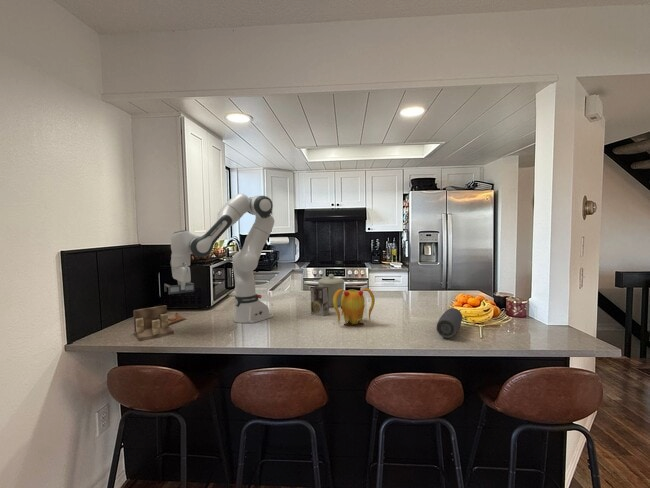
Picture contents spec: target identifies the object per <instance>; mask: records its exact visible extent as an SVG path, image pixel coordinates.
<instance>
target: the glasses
mask: <svg viewBox="0 0 650 488" xmlns="http://www.w3.org/2000/svg"><path fill="white" fill-rule="evenodd" d="M163 284H164V285H163V286H164V287H163V288H164V292H165V293H167V291H168V295H175V294H176V295H177V294H183V293H191V292H195V283H194V282H191V281H190V282H188V283H186V284H185V290H181V289H180V286H181V285H178V284H175V285H170V284H167V283H163Z"/></svg>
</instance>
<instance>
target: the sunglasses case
mask: <svg viewBox="0 0 650 488" xmlns="http://www.w3.org/2000/svg"><path fill="white" fill-rule="evenodd" d="M186 320H187V318H186V317H184V316H182V315H181V314H179V313H178V312H176V313H172V314H168V326H169V327H170V326H172V325H174V324H177V323H180V322H183V321H186Z"/></svg>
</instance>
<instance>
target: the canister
mask: <svg viewBox="0 0 650 488" xmlns="http://www.w3.org/2000/svg"><path fill="white" fill-rule="evenodd" d="M345 281H346V280H345V279H343V278H342V277H336V276H335V275H334V273H329V274H328V277H321V278H320V279H318V280H317V283H318V286H321V287H328V304H329V308H334V305H333V297H334V294H335V292H336V291H337V290H339V289H343V290H344V286H345ZM343 292H344V291H342V292H340V294H339V296H338V300H337V306H338V307H339V306H340V307H341V297H342V294H343Z"/></svg>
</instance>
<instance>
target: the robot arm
mask: <svg viewBox="0 0 650 488" xmlns="http://www.w3.org/2000/svg"><path fill="white" fill-rule="evenodd" d="M273 207H274V205H273V201H272V200H271V198H270V197H268V196H266V195H255V196H250V197H248V195H246V194H244V193H241V192H240V193H237V194H236V195H234V196H233V197H231V198H230V199H229V200H228V201H226V202H225V204H223V206H222V207H221V208H220V209H219V211H218V213H217V218H216V221H215V223H214V224H213V225H212V226H211V227H210V228H209V229H208V230H207V231H206V232H205V233H204V234H203V235H201V236H199V235H197V234H194V233H192V232H190V231H188V230H178V231H175V232H173V233H172V234H171V237H170V250H171V255H170V258H171V259H170V260H169V261H170V262H169V264H170V267H171V274H172V275H171V277H172V278H173V279H174V280H176V281H177V285H181V286H180V289H181V290H185V284H187V283H188V282H191V281H192V279H191V278H192V277H191V268H190V266H191V255H194V256H195V257H197V258H206V257H208V256H209V255H210V254H211V253H212V251H213V249H214V246H215V243H216V242H217V241H218V240H219V239H220V237H221V236H222V235H223V234H224V233H225V232H226V231H227V230H228V229H229V228H230V227H232V226H233V225H235V224H236V223H237V222H238V221H239V220H240V219H241V218H242V217H243V216H244V215H245V214H246V213H248V214H250V215H253V216H255V220H254V222H253V224H252V226H251V228H250V230H249V232H248V233H247V235H246V237H245V240H244V243H243V246H242V249H241V250H239V251H237V252H236V253H234V254H233V256H232V259H231V261H232V262H231V263H232V270H233V276H234V277H233V278H234V288H235V295H234V306H235V310H234V317H233V322H235V323H238V324H240V323H241V324H245V323H247V324H248V323H250V324H254V323H258V322H262V321H264V320H269V319H271V318H273V317H274V314H273V313H271V312H270V309H269V306H268V305H267V304H266V303H265V302H263V301H261V300H260V299H262V297H263V295H261V294H257V293H256V279H255V276H254V275H255V274H254V270H256V268H257V267H258V264H259V260H260V257H261V255H262V251H263V249H264V246H265V244H266V243H267V241H268V239H269V237H270V235H271V233H272V231H273V227H274V225H275V219H274V217H273V216H272V215H273Z"/></svg>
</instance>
